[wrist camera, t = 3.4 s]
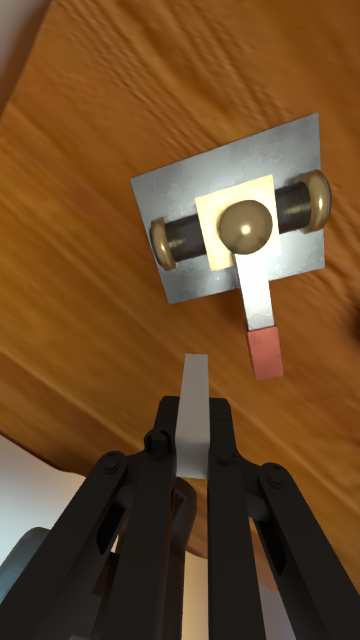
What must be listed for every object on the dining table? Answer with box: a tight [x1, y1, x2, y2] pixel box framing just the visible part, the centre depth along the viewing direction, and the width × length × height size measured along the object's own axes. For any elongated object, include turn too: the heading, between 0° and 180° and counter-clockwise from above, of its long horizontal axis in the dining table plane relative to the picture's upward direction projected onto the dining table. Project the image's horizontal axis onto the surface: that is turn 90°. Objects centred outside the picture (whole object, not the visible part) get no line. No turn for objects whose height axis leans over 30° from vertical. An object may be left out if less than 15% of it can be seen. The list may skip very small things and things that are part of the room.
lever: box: [217, 200, 284, 380], centre depth 20 cm, size 15×4×3 cm, turn 16°
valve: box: [130, 112, 332, 304], centre depth 22 cm, size 18×14×7 cm
